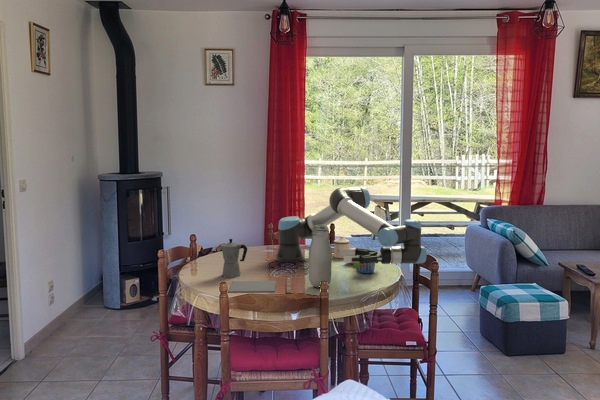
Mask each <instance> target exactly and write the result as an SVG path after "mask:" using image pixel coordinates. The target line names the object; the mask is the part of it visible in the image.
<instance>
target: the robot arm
mask: <svg viewBox="0 0 600 400" xmlns="http://www.w3.org/2000/svg"><path fill="white" fill-rule="evenodd" d="M328 203H329V205H327V206H326V207H324V208H323V209H321V210H320V211H318V212H317V213H316V212H314V213H309V215H308V216H306V217H299V216H295V215H293V216H286V217H282V218H280V220H278V228H277V229H278V247H277V251H276V254H275V261H277V262H278V263H286V264H287V263H289V264H291V263H299V262H302V261H303V260H304V254H303V251H302V247H301V240H305V239H312V236H313V234H312V230H313V227H314V226H315V225H319V224H324V225H326V226H327V227H328V226H329V225H330V224H332V223H333V222H335V221H337V220H339V219H341V218H342V217H344V216H345V217H346V218H348V219H349V220H351V221H352V222H354V223H355V224H357V225H358V226H360V227H362V228H363V229H365V230H367V231H368V232H370V233H371V234H373V235H374V236H376V237H377V240H378V242H379V244H380V245H381V247H380V250H378V249H376V248H375V249H373V248H371V249H369V248H362V247H361V248H358V247H355V248H356V249H341V256H343V255H355V256H344V258H343V263H344V264H345V263H346V264H347V263H348V264H350V262H360V263H362V264H365V263H372V262H378V263H381V264H382V265H390V264H392V265H394V264H395V266H396V265H401V264H414V265H416V264H424V263H425V262H426V261H427V249H426V246H422V243H421V242H422V221H420V220H419V219H413V218H412V219H411V218H410V219H405V220H404V221H403V224H402V225H398V226H394V225H392V224H391V223H388V222H386V221H385V220H384V219H382V218H381V217H378V216H377V215H375V214H373V213H372V212H370V211H369V210H367V208H369V206H370V203H371V194H370V191H369V190H368V189H367V188H366V187H364V186H361V185H360V186H359V185H357V186H347V187H346V186H345V187H344V186H343V187H339V188H335V189H334V190H333V191H332V192H331V193H330V196H329V202H328ZM400 244H403V246H394V245H400ZM357 255H360V257H359V256H357Z"/></svg>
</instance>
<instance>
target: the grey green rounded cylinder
mask: <svg viewBox="0 0 600 400" xmlns="http://www.w3.org/2000/svg"><path fill="white" fill-rule="evenodd" d="M312 234H313V236H312V238H311V242H310V245H309V247H308V249H309V250H308V279H309V282H310V284H311V285H312V287H315V288H317V289H318V288H319V286H320V282H321V281H322V280H326V281H327V282H328V284H329V285H330V284H331V280H332V264H333V263H332V261H333V253H332V252H333V251H332V246H330V245H331V242H330V229H329V227H328V225H327V226H326V225H324V224H319V225H315V226H314V227H313V230H312Z"/></svg>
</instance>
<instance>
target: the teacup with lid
mask: <svg viewBox="0 0 600 400" xmlns="http://www.w3.org/2000/svg"><path fill="white" fill-rule="evenodd" d="M350 243H351V241H350V240H349V239H346V238H345V237H344V236H343V235H340V236H339V238H337V239H335V240H333V243H330V246H331V247H332V246H333V251H332V254H333V256H334V258H336V259H344V256H345V255H343V256H341V249H349V248H350Z"/></svg>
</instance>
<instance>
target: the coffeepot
mask: <svg viewBox="0 0 600 400" xmlns="http://www.w3.org/2000/svg"><path fill="white" fill-rule="evenodd" d="M228 240H229V242H225V243H220V244H218V246H219V247H220V249H221V251H222V258H223V267H222V275H221V276H222V277H223V276H225V277H224V278H227V277H233V278H237V277H236V276H238V277H240V276H241V275H240V274H241V273H242V271H241V268H240V262H245V260H246V255H247V252H248V247H247V246H246V244H240V243H238V242H237V243H236V242H233V238H229V239H228ZM242 249H243V252H242V257H241V258H240V259H239V257H240V250H242ZM239 261H240V262H239Z"/></svg>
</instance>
